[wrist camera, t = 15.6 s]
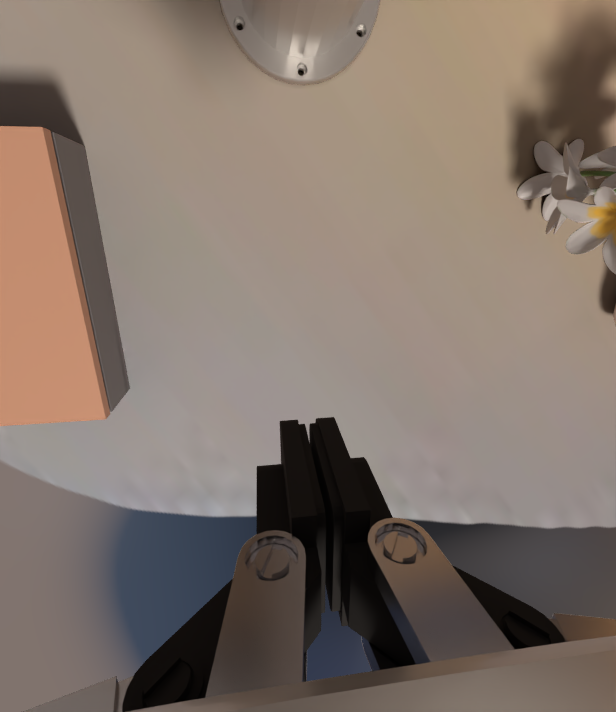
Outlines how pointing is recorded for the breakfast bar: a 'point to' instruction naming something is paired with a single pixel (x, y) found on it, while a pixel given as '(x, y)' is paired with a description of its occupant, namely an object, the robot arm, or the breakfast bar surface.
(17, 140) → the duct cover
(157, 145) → the breakfast bar surface
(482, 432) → the breakfast bar surface
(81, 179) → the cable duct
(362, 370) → the breakfast bar surface
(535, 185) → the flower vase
